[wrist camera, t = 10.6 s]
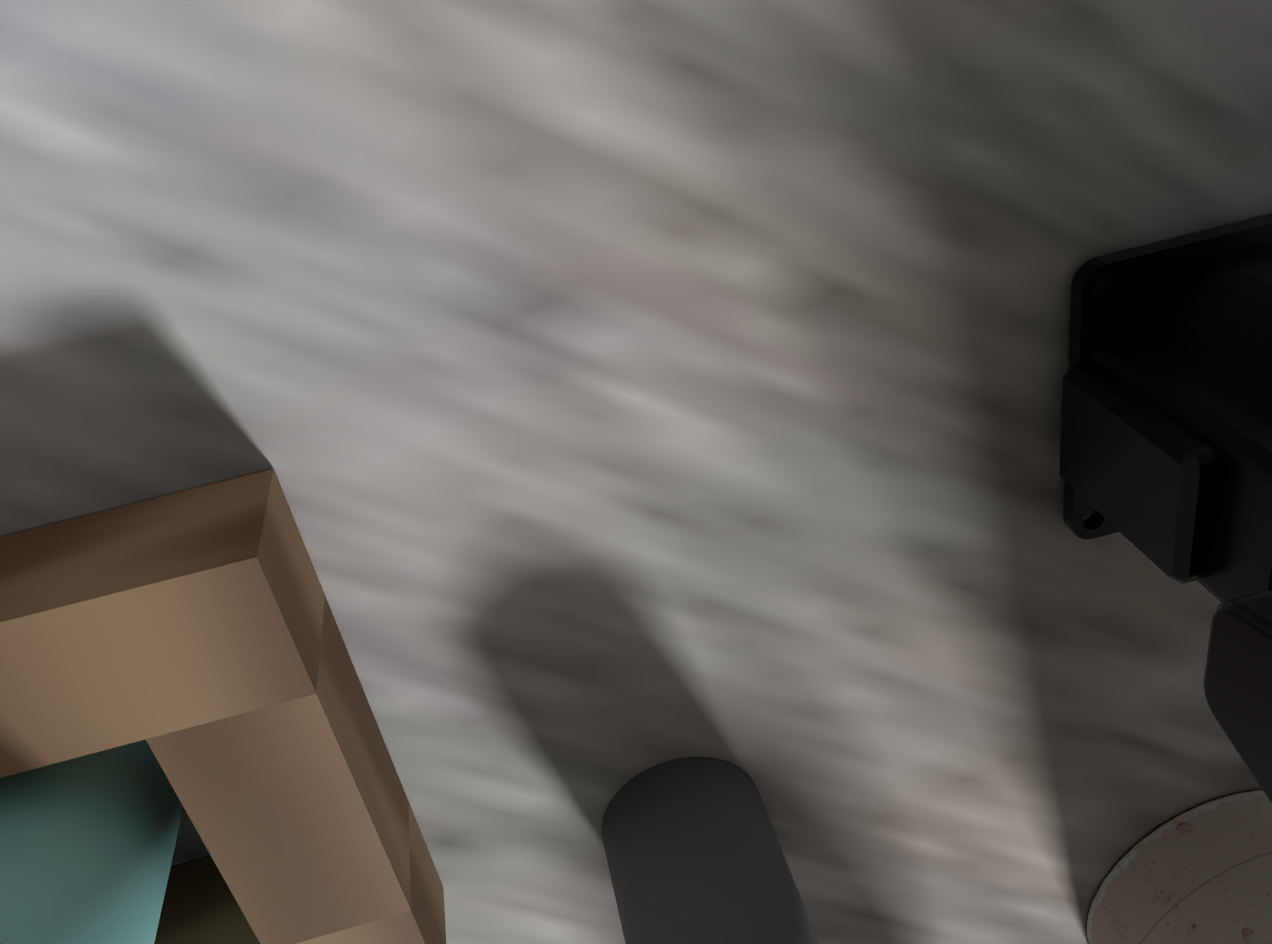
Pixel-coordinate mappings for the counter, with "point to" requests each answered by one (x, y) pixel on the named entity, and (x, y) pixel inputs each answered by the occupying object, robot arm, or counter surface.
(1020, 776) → the counter surface
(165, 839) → the peg
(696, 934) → the black dowel
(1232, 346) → the robot arm
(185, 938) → the socket block
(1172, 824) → the thermos bottle
